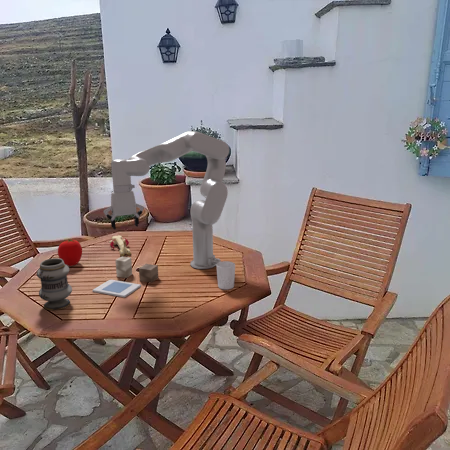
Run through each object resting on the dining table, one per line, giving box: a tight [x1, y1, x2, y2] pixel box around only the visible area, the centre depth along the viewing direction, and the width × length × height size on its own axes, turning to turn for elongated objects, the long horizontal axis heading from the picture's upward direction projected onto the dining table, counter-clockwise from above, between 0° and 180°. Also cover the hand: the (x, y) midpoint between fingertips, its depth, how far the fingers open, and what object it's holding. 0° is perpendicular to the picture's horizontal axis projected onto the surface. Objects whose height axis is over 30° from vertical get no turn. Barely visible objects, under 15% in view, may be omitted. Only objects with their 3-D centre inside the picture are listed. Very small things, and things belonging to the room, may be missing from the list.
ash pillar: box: [115, 256, 133, 279], centre depth 199 cm, size 5×5×8 cm
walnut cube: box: [138, 263, 159, 284], centre depth 195 cm, size 6×6×6 cm
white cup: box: [215, 260, 236, 290], centre depth 186 cm, size 8×8×10 cm
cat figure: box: [108, 234, 132, 257], centre depth 236 cm, size 10×9×25 cm
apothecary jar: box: [36, 257, 73, 311], centre depth 170 cm, size 12×12×18 cm
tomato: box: [57, 239, 83, 267], centre depth 212 cm, size 11×11×13 cm
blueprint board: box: [92, 279, 142, 298], centre depth 186 cm, size 16×12×1 cm
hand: (125, 227), depth 191 cm, fingers open, 9 cm apart
